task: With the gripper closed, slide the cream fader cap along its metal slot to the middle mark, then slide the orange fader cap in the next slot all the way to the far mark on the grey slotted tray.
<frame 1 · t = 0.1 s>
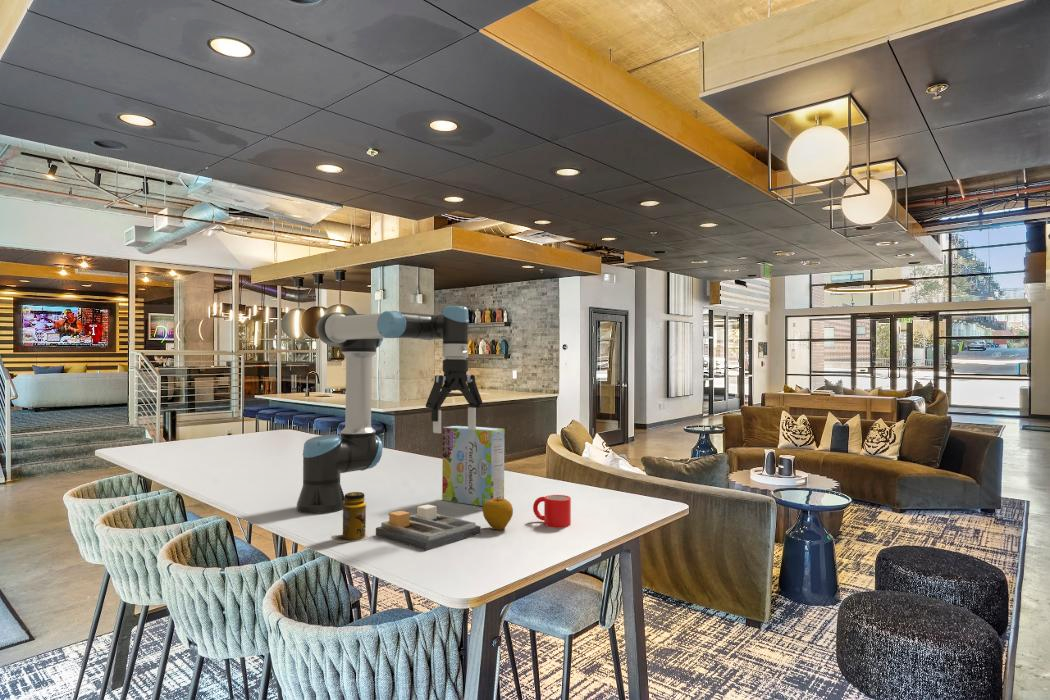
hand: (454, 431, 176), 28 cm above the table, fingers open, 13 cm apart
snack box: (472, 502, 206), on the table
mug: (551, 523, 180), on the table
apple: (497, 529, 173), on the table
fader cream: (426, 512, 175), point 4 cm above the table, slide at 0.0 cm
grey slotted tray: (428, 534, 167), on the table
condiment: (350, 538, 163), on the table
fader orange: (399, 519, 167), point 4 cm above the table, slide at 0.0 cm
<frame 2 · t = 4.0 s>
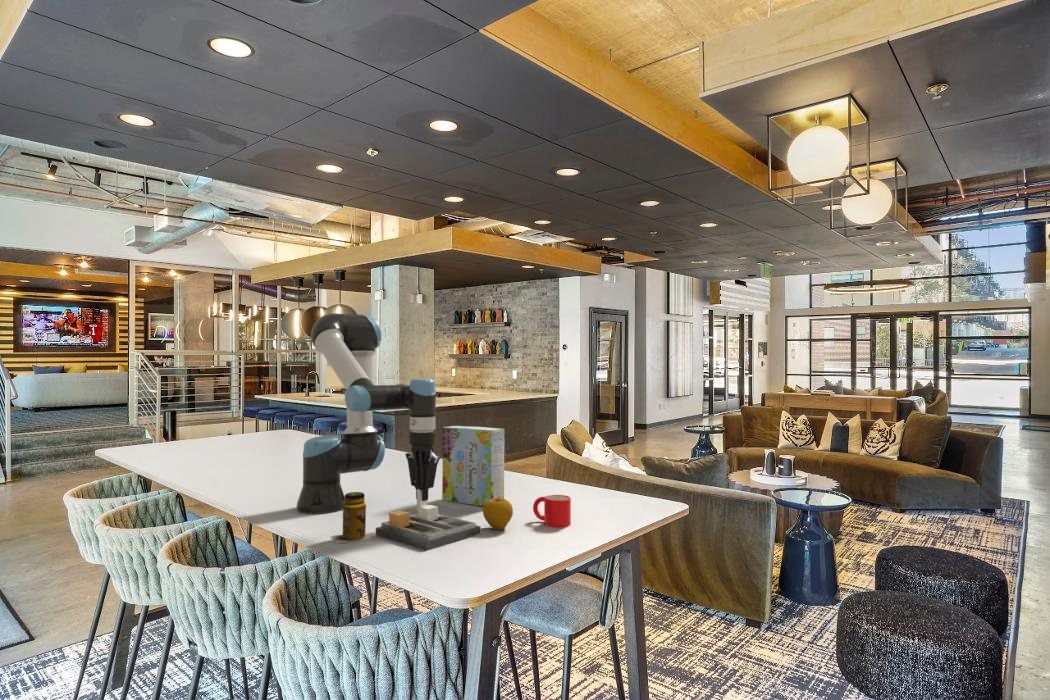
hand: (422, 511, 176), 4 cm above the table, fingers closed
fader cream: (428, 513, 175), point 4 cm above the table, slide at 0.6 cm, touching gripper
everything else where it was.
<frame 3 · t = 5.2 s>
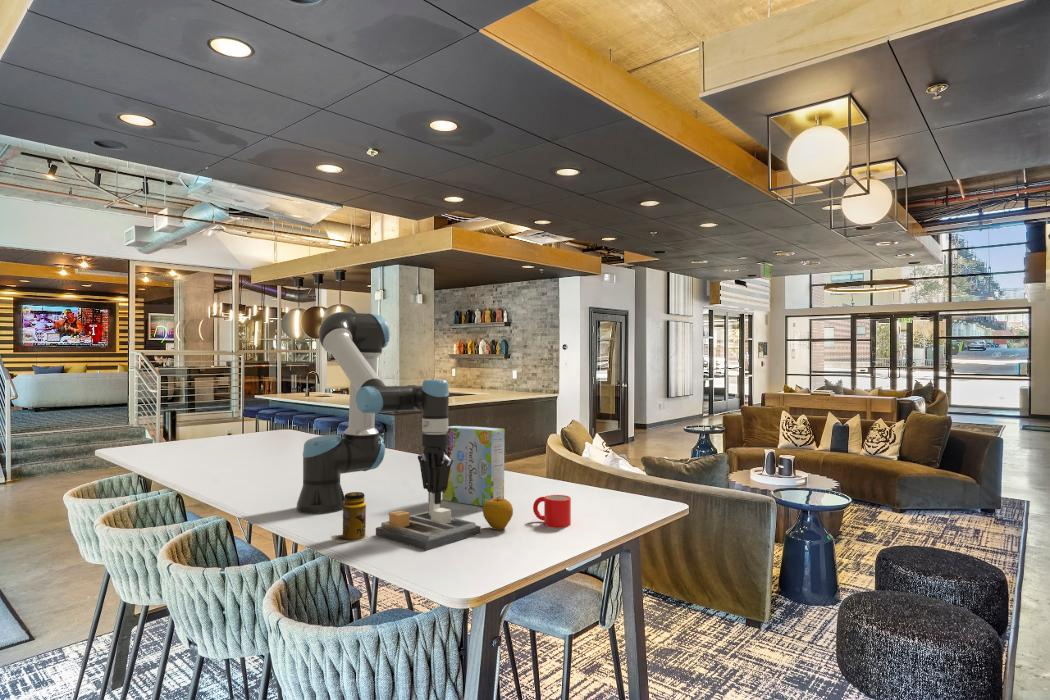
hand: (434, 514, 173), 4 cm above the table, fingers closed
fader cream: (441, 516, 171), point 4 cm above the table, slide at 6.1 cm, touching gripper
everything else where it was.
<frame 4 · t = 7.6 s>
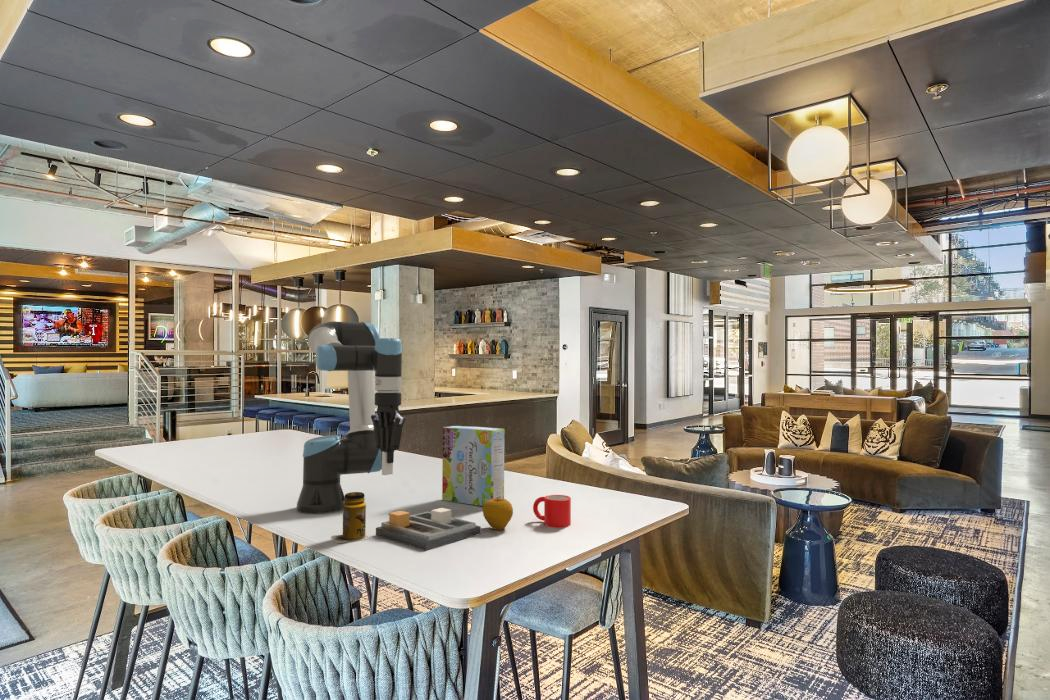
hand: (387, 474, 172), 16 cm above the table, fingers closed
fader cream: (441, 516, 171), point 4 cm above the table, slide at 6.2 cm
everything else where it was.
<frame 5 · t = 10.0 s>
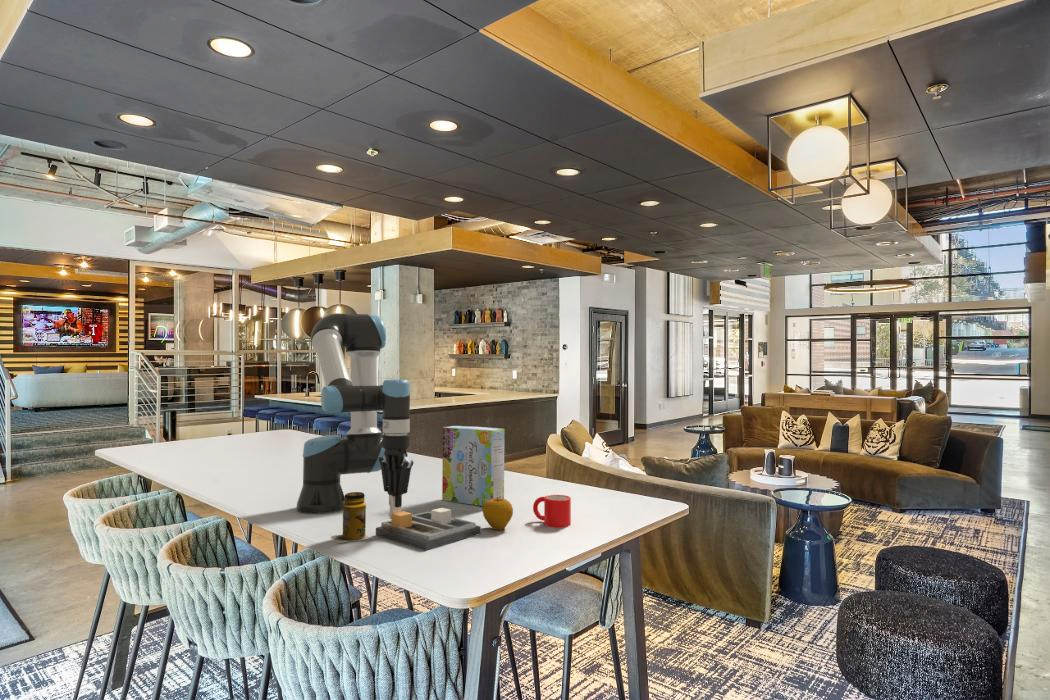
hand: (395, 518, 168), 4 cm above the table, fingers closed
fader orange: (401, 519, 167), point 4 cm above the table, slide at 1.0 cm, touching gripper
everything else where it was.
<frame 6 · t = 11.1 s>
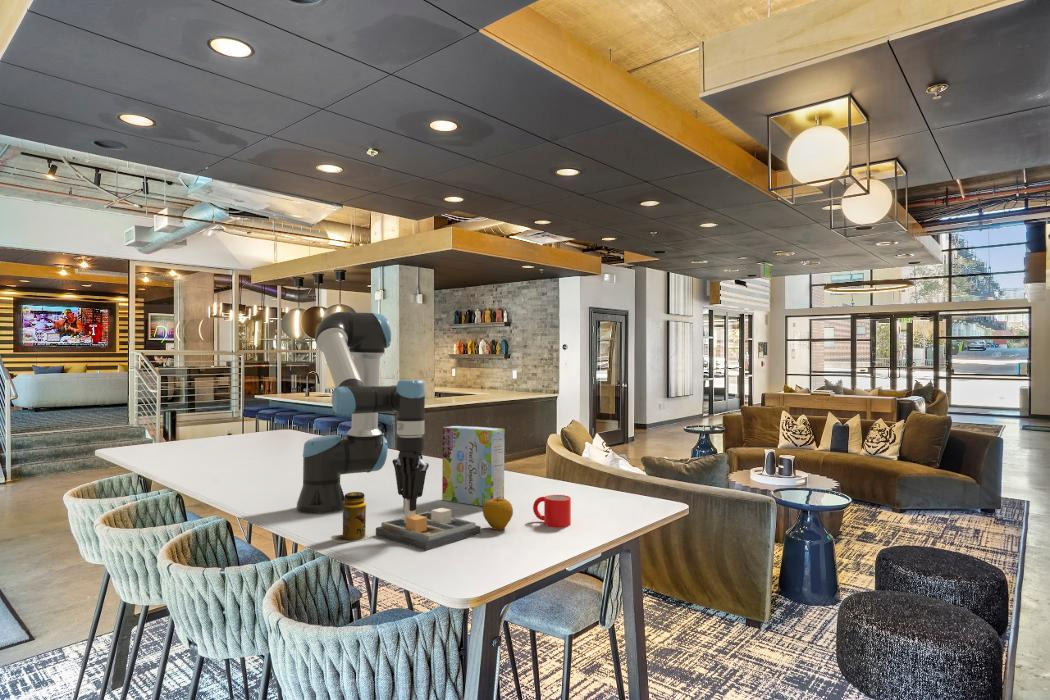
hand: (409, 522, 164), 4 cm above the table, fingers closed
fader orange: (416, 523, 163), point 4 cm above the table, slide at 7.4 cm, touching gripper
everything else where it was.
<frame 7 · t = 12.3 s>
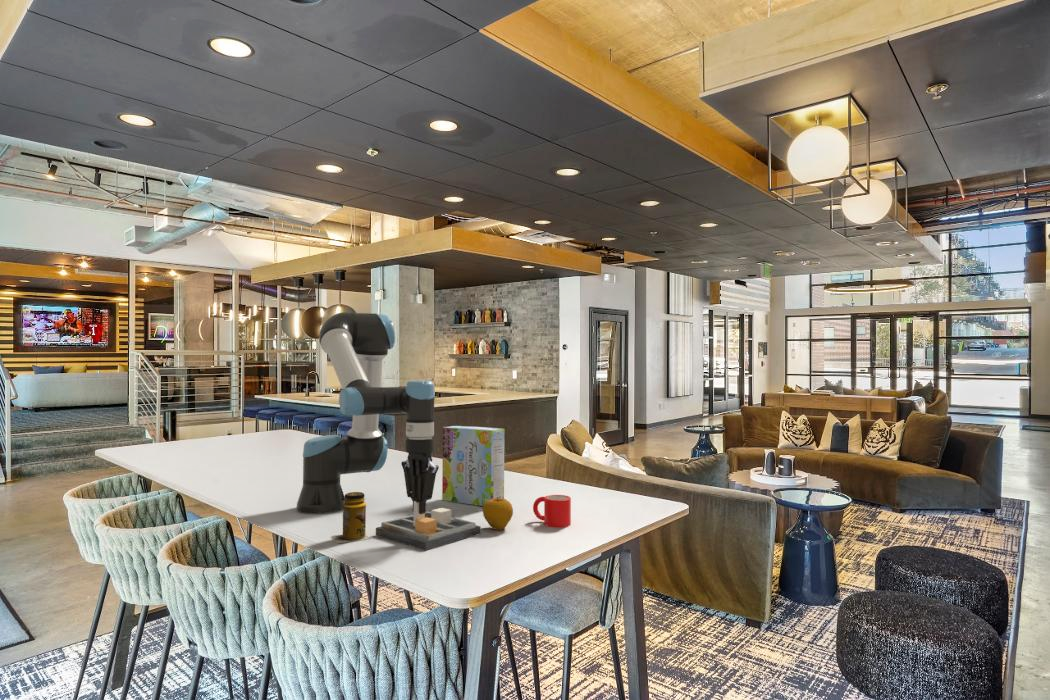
hand: (419, 525, 162), 4 cm above the table, fingers closed
fader orange: (425, 526, 160), point 4 cm above the table, slide at 11.2 cm, touching gripper
everything else where it was.
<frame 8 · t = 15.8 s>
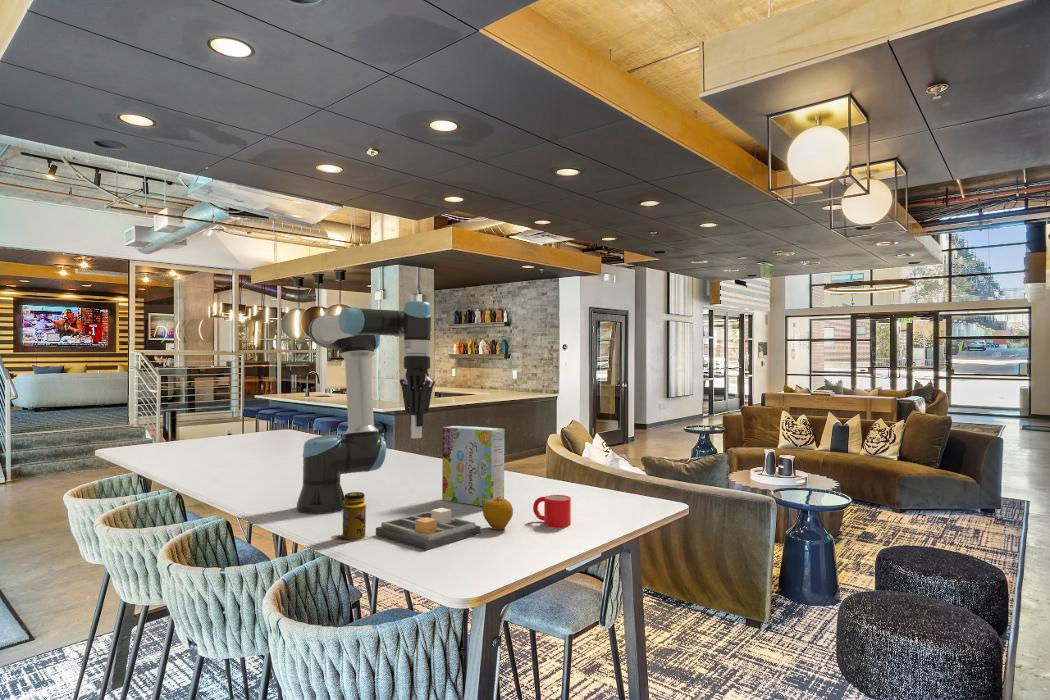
hand: (416, 437, 171), 26 cm above the table, fingers closed
fader orange: (425, 526, 160), point 4 cm above the table, slide at 11.2 cm
everything else where it was.
at the end: fader orange slide at 11.2 cm; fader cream slide at 6.2 cm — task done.
